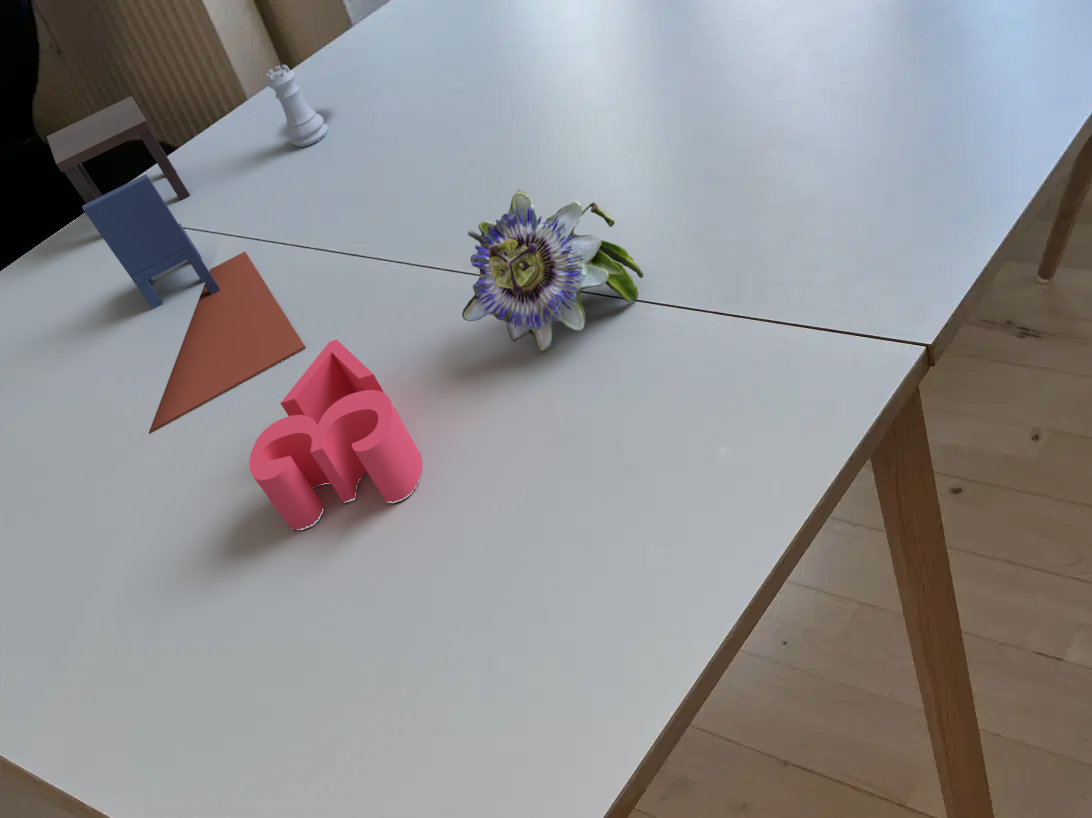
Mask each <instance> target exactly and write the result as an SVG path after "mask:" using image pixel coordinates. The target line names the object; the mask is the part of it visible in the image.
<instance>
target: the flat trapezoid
mask: <svg viewBox="0 0 1092 818" xmlns="http://www.w3.org/2000/svg"><path fill="white" fill-rule="evenodd" d="M209 272H210V274H211V275H212V277H213V278H214V280H215V281H216V283H217V284H218V286H219V288H220V290H219V291H218V292H216V293H214V294H212V295H211V294H210V293H209V291H208V290H207V288H206V287H205V285H204V284H203V287H202V290H201V292H200V295H199V298H198V301H197V303H196V306H195V308H194V311H193V314H192V317H191V319H190V322H189V325H188V327H187V330H186V332H185V335H184V338H183V340H182V342H181V346H180V348H179V351H178V354H177V356H176V358H175V361H174V364H173V367H172V368H171V369H172V370H171V372H170V375H169V377H168V381H167V383H166V386H165V388H164V391H163V393H162V396H161V399H160V402H159V404H158V407H157V410H156V412H155V415H154V417H153V420H152V422H151V426H150V428H149V430H148V431H149V433H153V432H155V431H156V430H158V429H160V428H162V427H164V426H165V425H168V424H169V423H171V422H173V421H174V420H176V419H179V418H180V417H182V416H184V415H186V414H188V413H189V412H191V411H193V410H194V409H196V408H199V407H200V406H202V405H204V404H206V403H208V402H210V401H211V400H213V399H216V398H217V397H218V396H220V395H222V394H225V393H226V392H228V391H230V390H231V389H234V388H235V387H237V386H239V385H241V384H243V383H244V382H246V381H248V380H249V379H251V378H254V377H255V376H257V375H259V374H261V373H263V372H265V371H266V370H268V369H270V368H272V367H273V366H276V365H277V364H279V363H280V362H283V361H284V360H286V359H288V358H290V357H293V356H294V355H295V354H297V353H299V352H301V351H303V350H305V349H306V348H307V347H306V345H305V344H304V342H303V340H302V339H301V338H300V335H298V332H297V331H296V330H295V328H294V327H293V324H292V323H291V322H290V320H289V318H288V317H287V315H286V314H285V312H284V311H283V309H282V308H281V306H280V304H279V303H278V301H277V299H276V298H275V296H274V295H273V292H271V290H270V289H269V287H268V285H267V284H266V282H265V281H264V279H263V278H262V276H261V275H260V273H259V271H258V269H257V268H256V267H255V265H254V263H253V262H252V260H251V259H250V257H249V256H248V253H247V252H246V251H243V252H241V253H238V254H236V255H235V256H232V257H231V258H229V259H228V260H225V261H223V262H222V263H219V264H218V265H215V266H214V267H212V268H210V269H209Z"/></svg>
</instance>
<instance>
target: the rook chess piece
mask: <svg viewBox="0 0 1092 818" xmlns="http://www.w3.org/2000/svg"><path fill="white" fill-rule="evenodd" d="M275 70H276V71H274V70H273V68H271V69H269V70H268V71H267V73H265V77H266V79H267V82H266V83H267V84H266V86H267V87H268V88H270V89H272V90H274V92H275V98H276V99H278V100H279V102H280V105H281V107H282V109H283V112H284V115H285V119H286V125H287V128H286V135H288V137H289V138H290V143H291V144H292V145H294V146H296V147H299V148H304V147H309V146H311V144H312V145H314V144H316V143H318V142H320V141H321V140H322V139H323V138H322V137H324V136H325V137H326V135H327V134H328V130H329V129H328V128H329V125H327V124H326V123H324V117H323V116H322V115H320V113H317V112H316V110H314V109H313V108H311V106H310V105H309V103H308V102H307V101H306V100H305V98H304V96H303V94H302V92H301V91H300V88H301V87H300V85H298V84H297V83H296V81H295V76H296V72H294V71H293V70H291V69H290V68H289V66H288V65H287V64H282V65H281V66H280V65H277V66H275ZM326 133H327V134H326ZM325 134H326V135H325ZM325 137H324V138H325ZM321 138H322V139H321ZM320 139H321V140H320ZM319 140H320V141H319ZM317 141H318V142H317ZM315 142H316V143H315ZM313 143H314V144H313ZM308 145H309V146H308Z"/></svg>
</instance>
